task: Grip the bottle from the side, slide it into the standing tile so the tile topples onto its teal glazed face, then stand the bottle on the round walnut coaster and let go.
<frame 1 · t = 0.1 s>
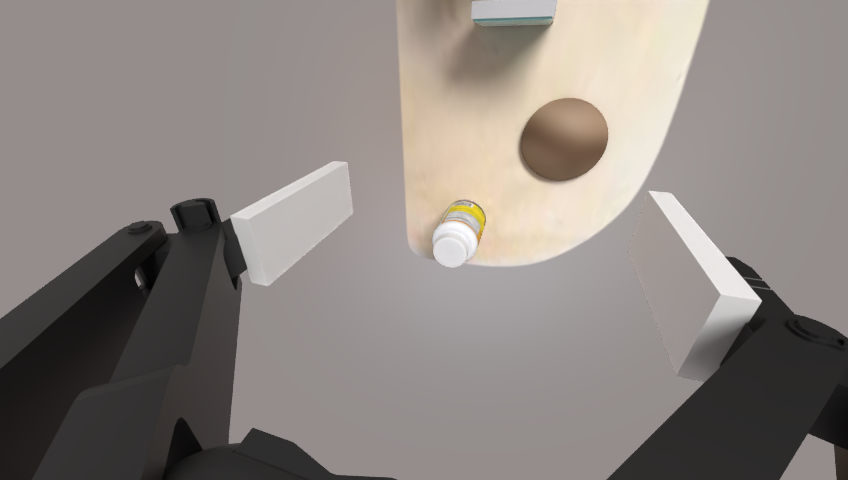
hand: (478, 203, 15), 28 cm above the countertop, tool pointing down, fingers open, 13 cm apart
supplement bottle 2: (467, 215, 47), on the countertop
tile: (517, 16, 34), on the countertop
coaster: (562, 140, 38), on the countertop
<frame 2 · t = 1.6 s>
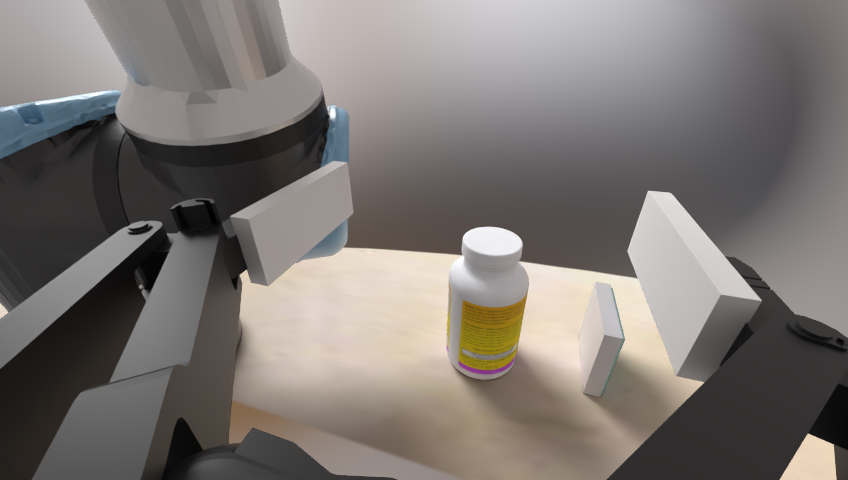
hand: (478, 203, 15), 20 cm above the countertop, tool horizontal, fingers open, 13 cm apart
tile: (588, 364, 32), on the countertop
supplement bottle: (479, 355, 33), on the countertop
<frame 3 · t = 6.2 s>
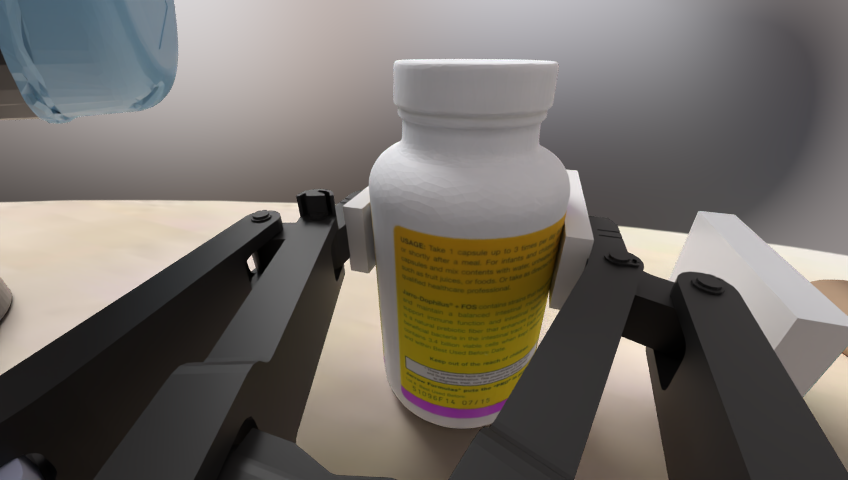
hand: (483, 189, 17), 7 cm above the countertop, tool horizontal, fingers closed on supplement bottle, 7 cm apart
tile: (684, 387, 15), on the countertop
supplement bottle: (455, 369, 16), on the countertop, touching gripper
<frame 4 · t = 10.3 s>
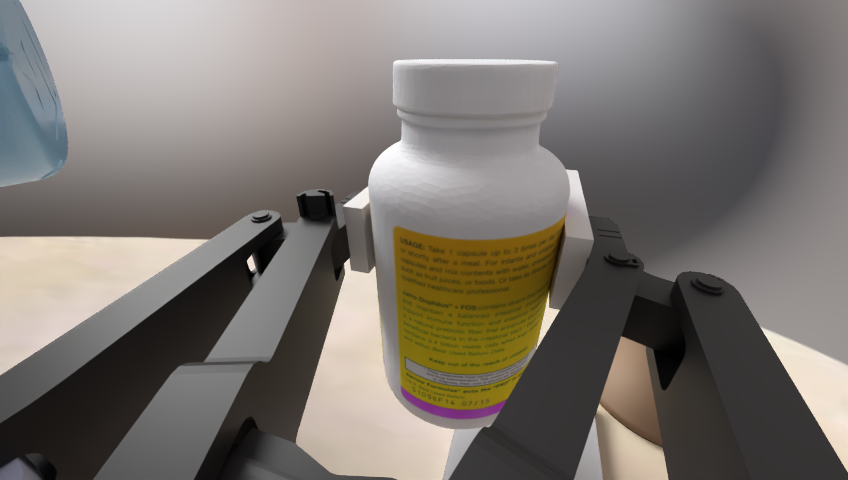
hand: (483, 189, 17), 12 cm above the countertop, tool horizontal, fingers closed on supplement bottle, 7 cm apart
tile: (457, 422, 19), on the countertop, tilted 90°
coaster: (656, 381, 21), on the countertop
supplement bottle: (454, 369, 16), point 5 cm above the countertop, touching gripper
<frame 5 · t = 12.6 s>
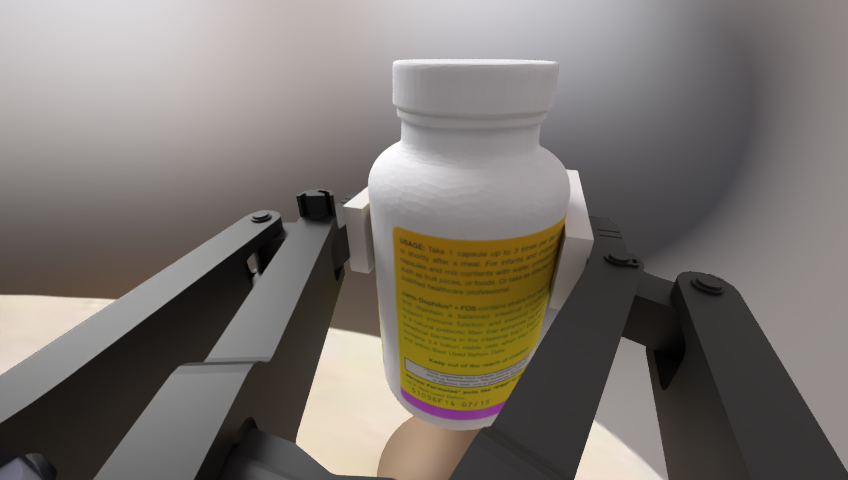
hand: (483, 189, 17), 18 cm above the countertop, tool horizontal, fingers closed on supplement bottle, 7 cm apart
coaster: (447, 478, 22), on the countertop
supplement bottle: (454, 370, 16), point 11 cm above the countertop, touching gripper
when the fingers open (8 cm above the countertop, at t = 14.7 s): supplement bottle stays where it is, resting on coaster.
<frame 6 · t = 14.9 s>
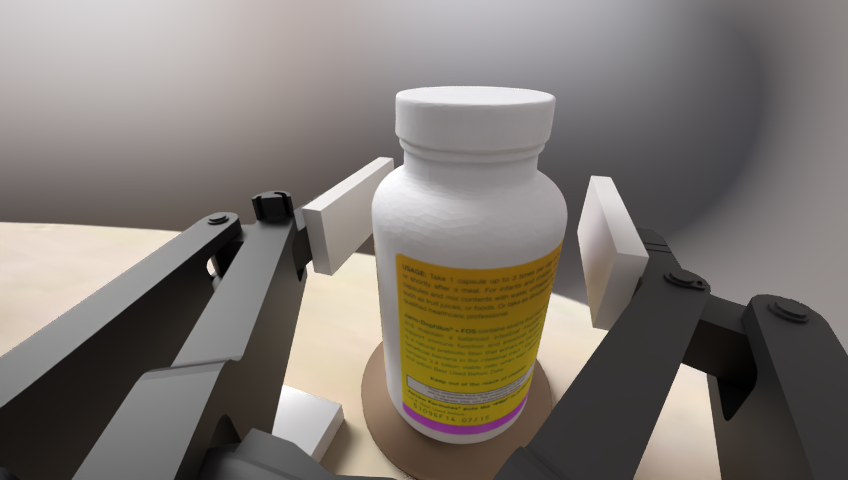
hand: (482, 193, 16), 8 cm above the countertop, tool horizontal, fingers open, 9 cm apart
tile: (155, 439, 14), on the countertop, tilted 90°
coaster: (454, 386, 17), on the countertop
supplement bottle: (455, 382, 16), resting on coaster
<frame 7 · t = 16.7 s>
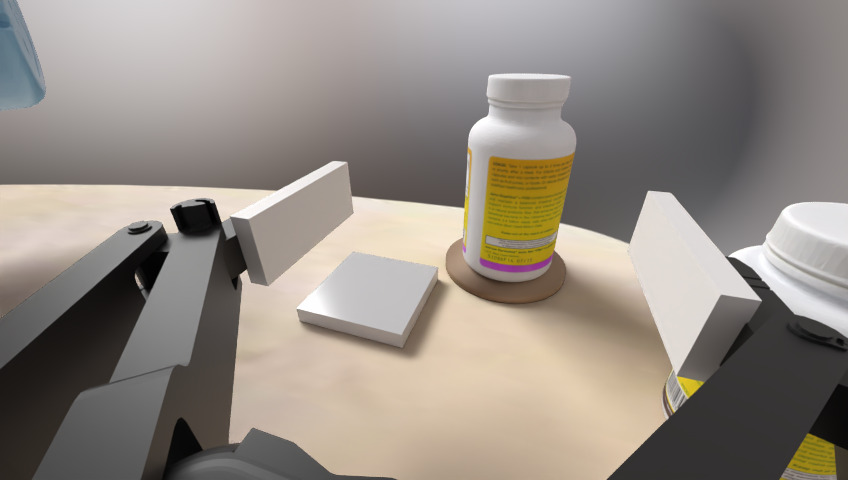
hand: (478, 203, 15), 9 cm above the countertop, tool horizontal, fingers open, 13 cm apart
supplement bottle 2: (729, 437, 15), on the countertop
tile: (329, 285, 24), on the countertop, tilted 90°
coaster: (503, 265, 26), on the countertop
supplement bottle: (504, 262, 26), resting on coaster
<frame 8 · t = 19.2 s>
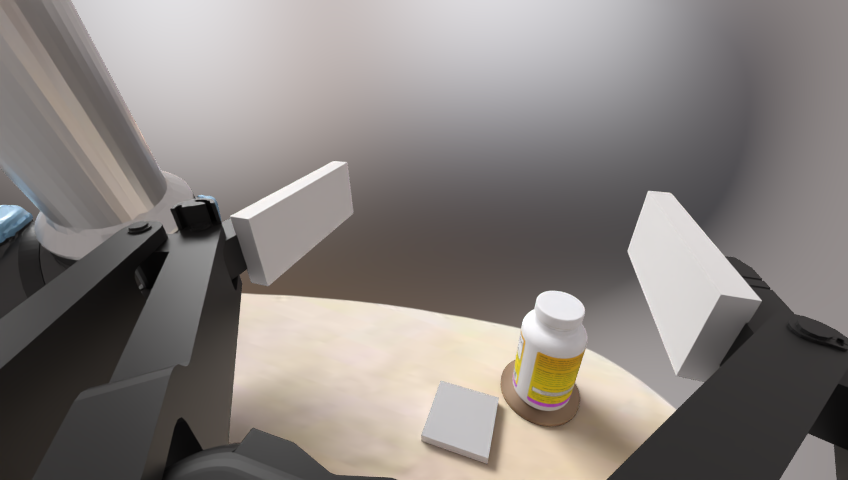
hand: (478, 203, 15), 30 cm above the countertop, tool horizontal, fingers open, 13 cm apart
tile: (431, 409, 38), on the countertop, tilted 90°
coaster: (538, 390, 41), on the countertop
supplement bottle: (539, 388, 41), resting on coaster
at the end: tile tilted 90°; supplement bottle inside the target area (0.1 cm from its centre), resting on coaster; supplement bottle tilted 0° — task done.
